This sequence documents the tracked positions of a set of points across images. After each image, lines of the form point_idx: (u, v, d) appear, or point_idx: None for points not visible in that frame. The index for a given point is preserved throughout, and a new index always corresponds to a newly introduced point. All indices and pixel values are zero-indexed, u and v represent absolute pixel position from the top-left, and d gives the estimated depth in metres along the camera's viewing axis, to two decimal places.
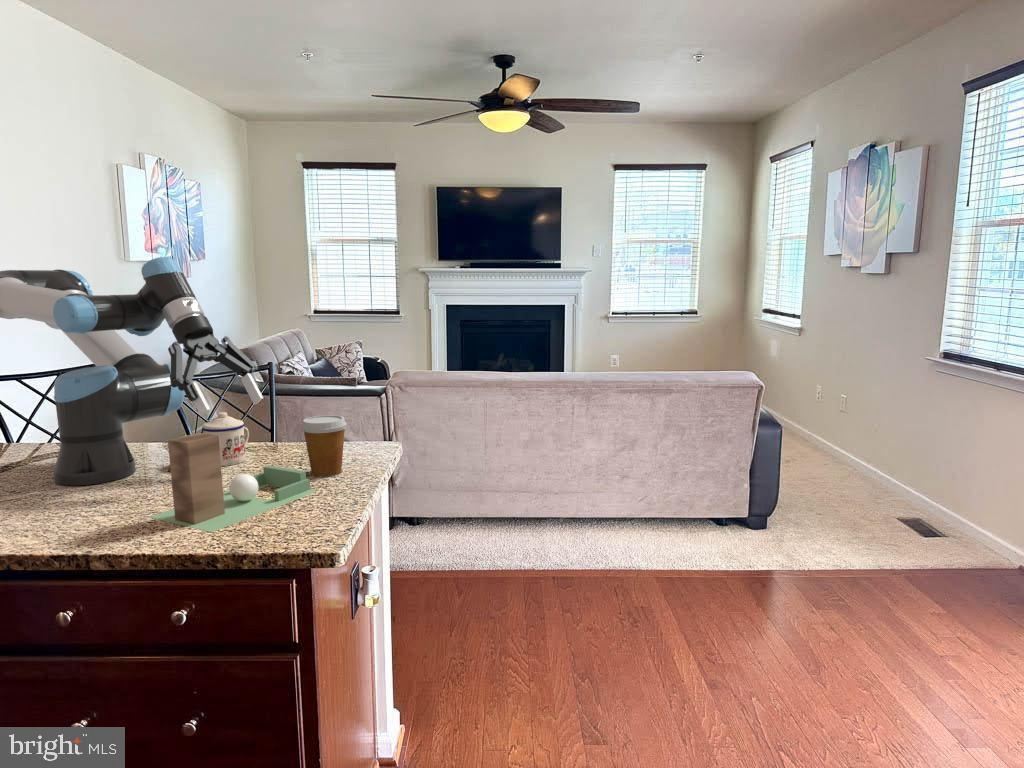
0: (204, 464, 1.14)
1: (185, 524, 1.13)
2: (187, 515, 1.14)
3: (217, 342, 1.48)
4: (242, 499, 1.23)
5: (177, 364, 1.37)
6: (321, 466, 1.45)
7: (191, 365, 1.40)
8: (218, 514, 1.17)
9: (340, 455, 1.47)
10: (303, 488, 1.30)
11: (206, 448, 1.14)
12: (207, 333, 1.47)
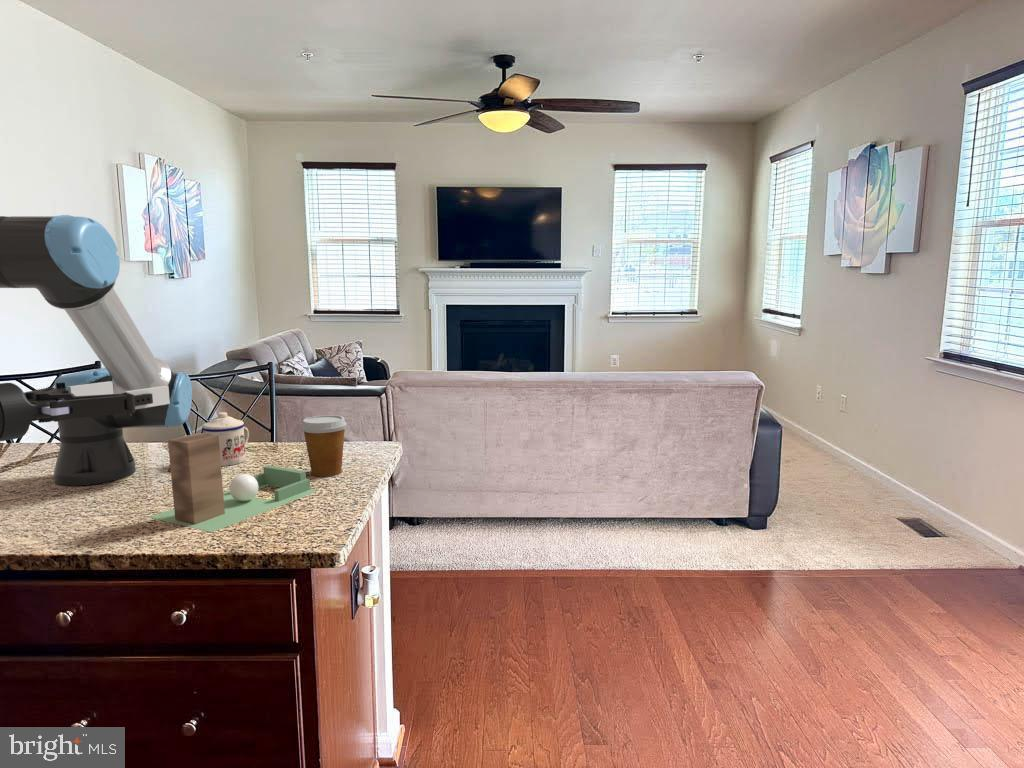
0: (204, 464, 1.14)
1: (185, 524, 1.13)
2: (187, 515, 1.14)
3: (49, 417, 0.91)
4: (242, 499, 1.23)
5: None
6: (321, 466, 1.45)
7: None
8: (218, 514, 1.17)
9: (340, 455, 1.47)
10: (303, 488, 1.30)
11: (206, 448, 1.14)
12: None
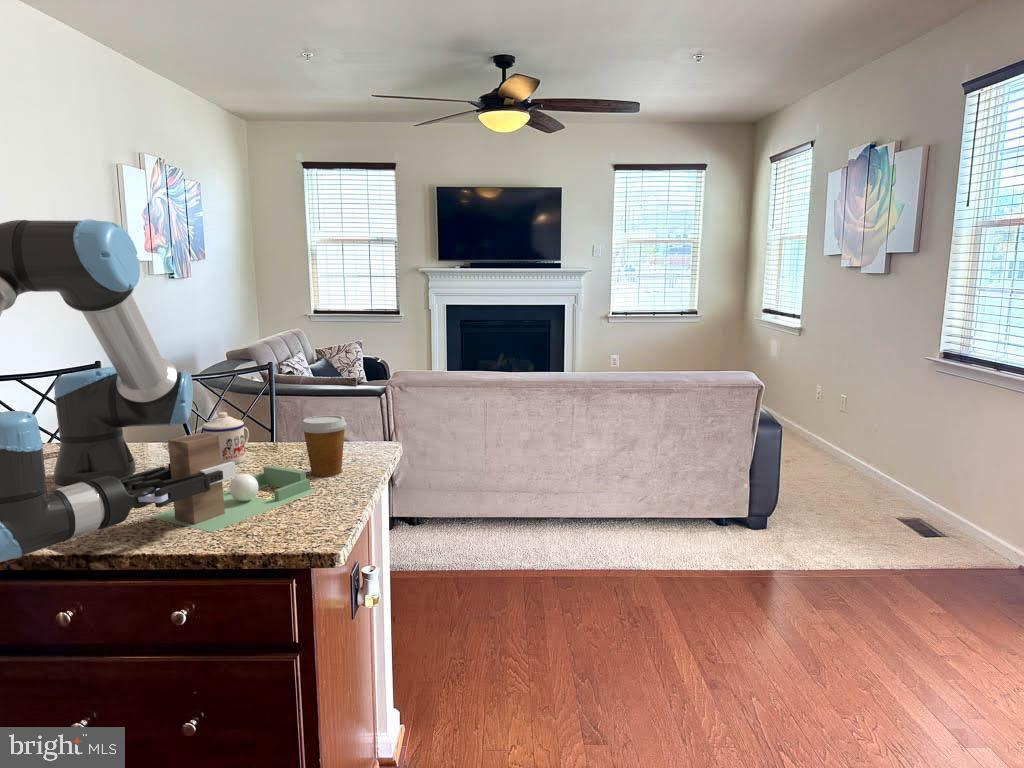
0: (204, 464, 1.14)
1: (185, 524, 1.13)
2: (187, 515, 1.14)
3: None
4: (242, 499, 1.23)
5: None
6: (321, 466, 1.45)
7: None
8: (218, 514, 1.17)
9: (340, 455, 1.47)
10: (303, 488, 1.30)
11: (206, 448, 1.14)
12: None
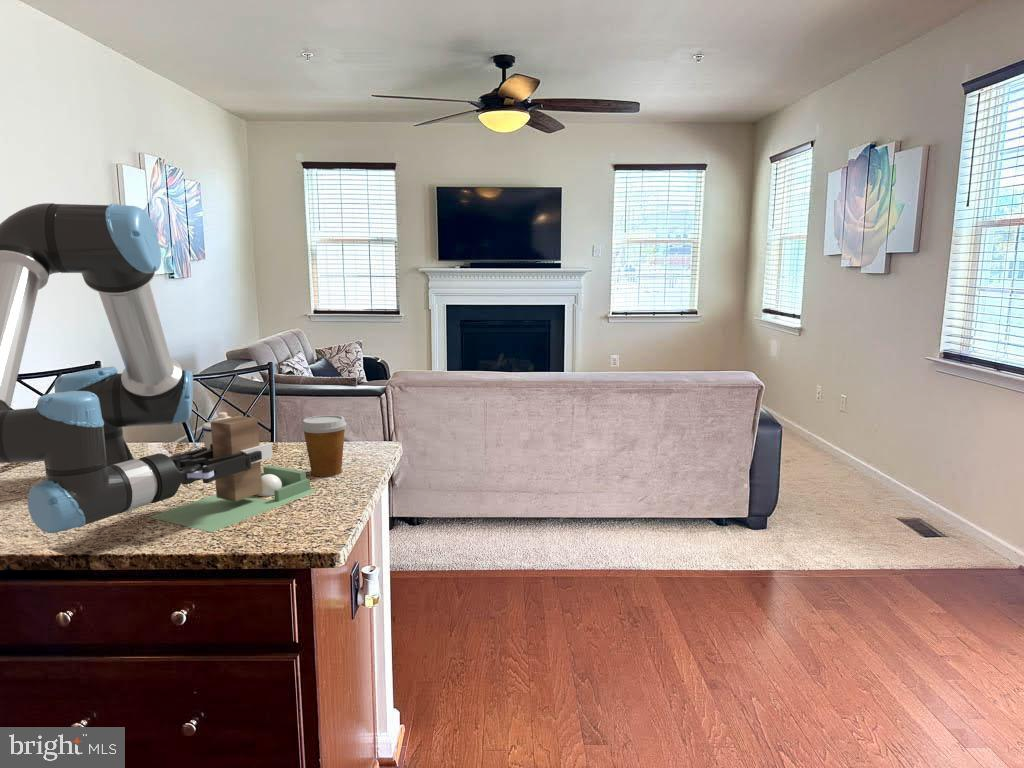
0: (244, 444, 1.21)
1: (185, 524, 1.13)
2: (228, 492, 1.21)
3: None
4: (273, 476, 1.29)
5: None
6: (321, 466, 1.45)
7: None
8: (256, 492, 1.25)
9: (340, 455, 1.47)
10: (303, 488, 1.30)
11: (246, 430, 1.22)
12: None
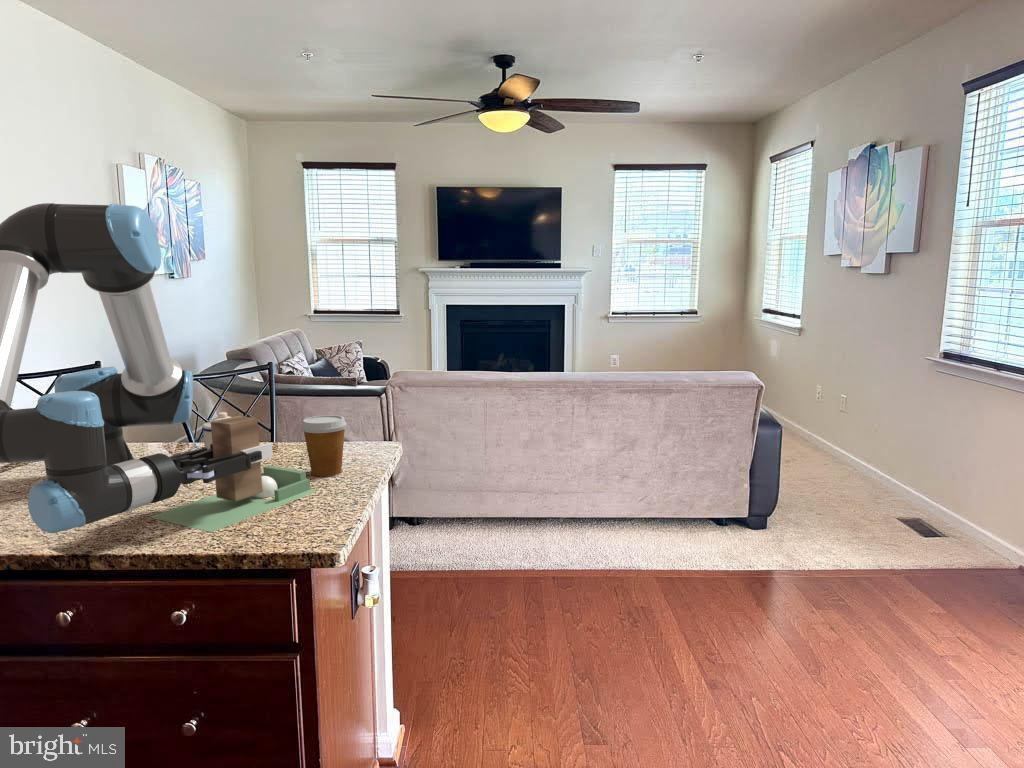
0: (245, 444, 1.21)
1: (185, 524, 1.13)
2: (228, 492, 1.21)
3: None
4: (263, 480, 1.27)
5: None
6: (321, 466, 1.45)
7: None
8: (256, 492, 1.25)
9: (340, 455, 1.47)
10: (303, 488, 1.30)
11: (246, 430, 1.22)
12: None
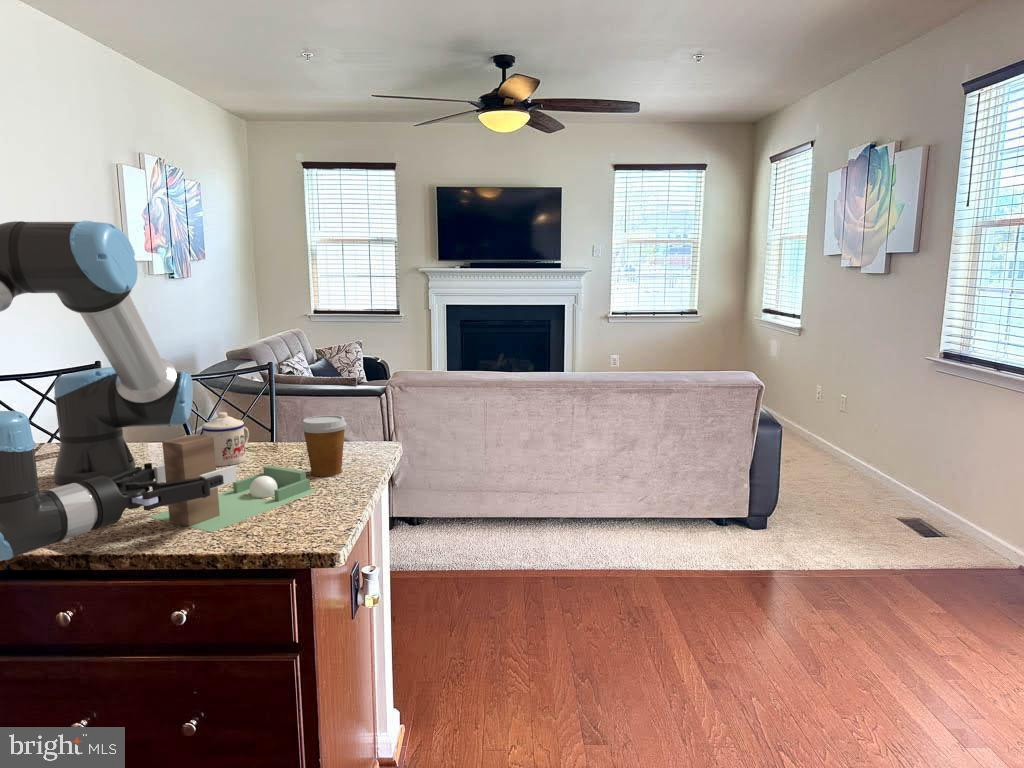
0: (199, 465, 1.13)
1: None
2: (182, 517, 1.13)
3: None
4: (263, 480, 1.27)
5: None
6: (321, 466, 1.45)
7: None
8: (213, 516, 1.16)
9: (340, 455, 1.47)
10: (303, 488, 1.30)
11: (201, 450, 1.13)
12: None
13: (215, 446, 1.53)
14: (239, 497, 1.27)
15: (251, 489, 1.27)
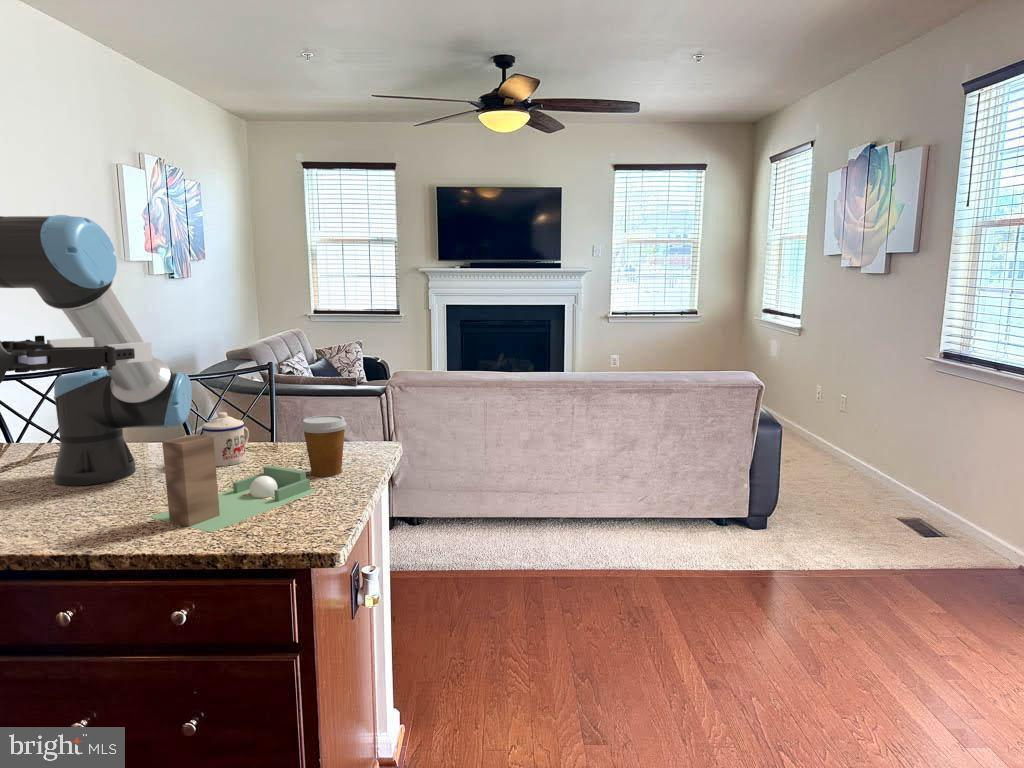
0: (199, 465, 1.13)
1: None
2: (182, 517, 1.13)
3: (26, 367, 0.88)
4: (264, 480, 1.27)
5: None
6: (321, 466, 1.45)
7: None
8: (213, 516, 1.16)
9: (340, 455, 1.47)
10: (303, 488, 1.30)
11: (201, 450, 1.13)
12: None
13: (215, 446, 1.53)
14: (239, 497, 1.27)
15: (251, 489, 1.27)
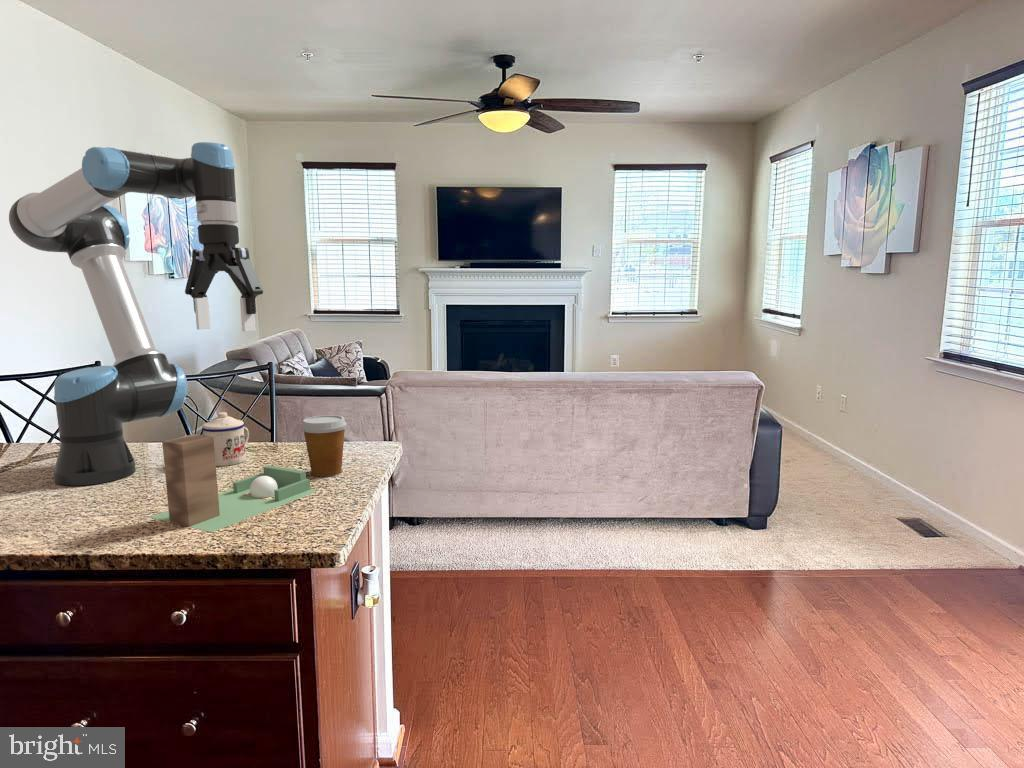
0: (199, 465, 1.13)
1: None
2: (182, 517, 1.13)
3: (227, 254, 1.35)
4: (264, 480, 1.28)
5: (189, 275, 1.41)
6: (321, 466, 1.45)
7: (198, 278, 1.39)
8: (213, 516, 1.16)
9: (340, 455, 1.47)
10: (303, 488, 1.30)
11: (201, 450, 1.13)
12: (218, 243, 1.35)
13: (215, 446, 1.53)
14: (239, 497, 1.27)
15: (251, 489, 1.27)
